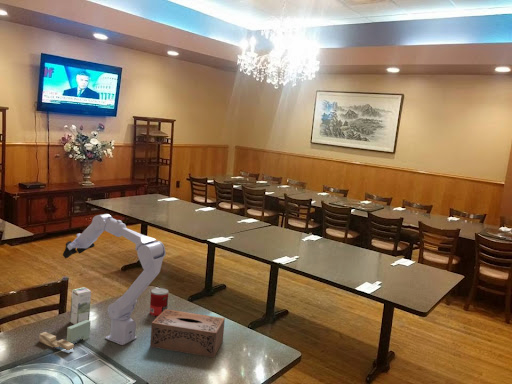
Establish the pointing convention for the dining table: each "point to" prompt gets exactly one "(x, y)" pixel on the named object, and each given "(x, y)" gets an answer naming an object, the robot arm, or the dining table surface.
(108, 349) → the dining table surface
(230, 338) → the dining table surface
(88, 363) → the dining table surface
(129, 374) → the dining table surface
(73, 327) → the cross plate
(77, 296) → the syrup box
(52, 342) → the slotted rail
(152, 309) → the canned food
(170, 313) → the tissue box cover
